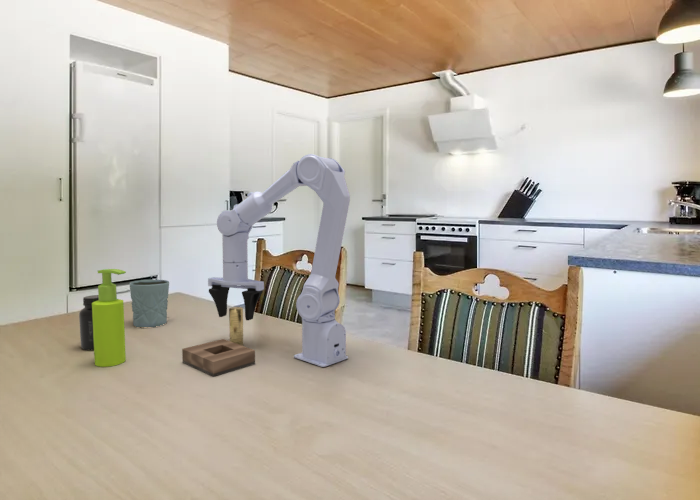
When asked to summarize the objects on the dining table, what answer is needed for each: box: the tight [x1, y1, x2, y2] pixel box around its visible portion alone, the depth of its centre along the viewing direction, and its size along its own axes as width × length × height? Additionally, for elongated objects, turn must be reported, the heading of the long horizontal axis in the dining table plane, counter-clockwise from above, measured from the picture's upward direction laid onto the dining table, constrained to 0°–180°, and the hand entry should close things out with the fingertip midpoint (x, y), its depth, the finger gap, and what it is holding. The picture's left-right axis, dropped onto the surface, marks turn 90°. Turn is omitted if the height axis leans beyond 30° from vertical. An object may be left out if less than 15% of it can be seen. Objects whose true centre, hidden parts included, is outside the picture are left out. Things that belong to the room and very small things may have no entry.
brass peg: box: [228, 306, 244, 346], centre depth 110 cm, size 3×3×9 cm
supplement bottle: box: [78, 294, 99, 351], centre depth 108 cm, size 7×7×12 cm
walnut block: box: [181, 338, 256, 377], centre depth 97 cm, size 12×10×3 cm
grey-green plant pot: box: [129, 279, 170, 328], centre depth 128 cm, size 10×10×12 cm
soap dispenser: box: [92, 268, 127, 368], centre depth 97 cm, size 6×7×20 cm
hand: (235, 317), depth 110 cm, fingers open, 7 cm apart
